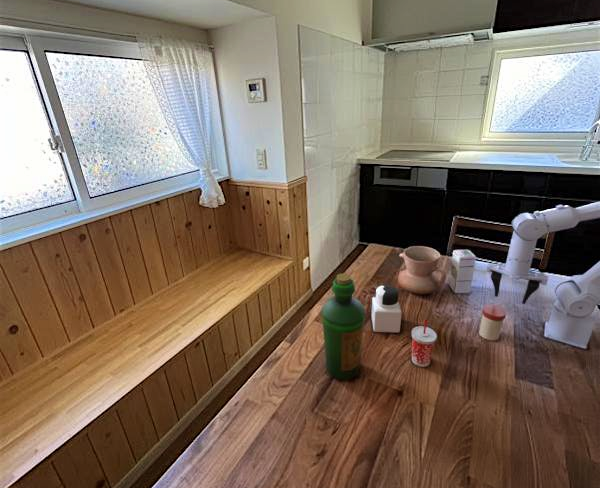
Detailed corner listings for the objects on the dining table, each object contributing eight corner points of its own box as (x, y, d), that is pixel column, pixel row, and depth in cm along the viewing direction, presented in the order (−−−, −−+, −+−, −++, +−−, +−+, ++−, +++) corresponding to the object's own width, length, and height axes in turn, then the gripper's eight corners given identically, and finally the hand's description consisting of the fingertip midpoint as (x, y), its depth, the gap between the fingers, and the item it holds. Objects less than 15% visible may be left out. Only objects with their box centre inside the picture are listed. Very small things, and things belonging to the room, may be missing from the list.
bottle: (362, 387, 83) (366, 291, 72) (319, 381, 85) (317, 287, 74) (363, 356, 93) (367, 267, 81) (325, 352, 95) (323, 264, 83)
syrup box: (470, 293, 118) (477, 256, 112) (453, 293, 118) (459, 256, 112) (463, 284, 123) (470, 249, 117) (447, 285, 123) (452, 249, 118)
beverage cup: (412, 369, 88) (417, 325, 82) (406, 352, 93) (410, 310, 87) (436, 369, 87) (442, 325, 82) (428, 352, 93) (434, 310, 87)
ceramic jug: (386, 285, 125) (388, 251, 119) (409, 272, 133) (413, 240, 127) (430, 307, 112) (435, 269, 106) (453, 290, 120) (458, 255, 114)
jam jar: (499, 331, 99) (504, 310, 96) (498, 342, 95) (504, 320, 92) (479, 326, 101) (484, 306, 98) (478, 337, 97) (482, 315, 94)
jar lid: (507, 313, 95) (508, 309, 95) (502, 323, 92) (503, 319, 91) (485, 306, 99) (486, 302, 98) (479, 315, 95) (480, 311, 95)
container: (395, 317, 108) (398, 282, 102) (399, 333, 101) (403, 296, 95) (371, 316, 108) (372, 282, 103) (373, 332, 101) (375, 296, 96)
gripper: (487, 256, 93) (479, 297, 98) (551, 269, 85) (539, 313, 90) (492, 247, 98) (484, 286, 104) (552, 258, 90) (540, 300, 96)
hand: (509, 298), depth 97 cm, fingers open, 6 cm apart
